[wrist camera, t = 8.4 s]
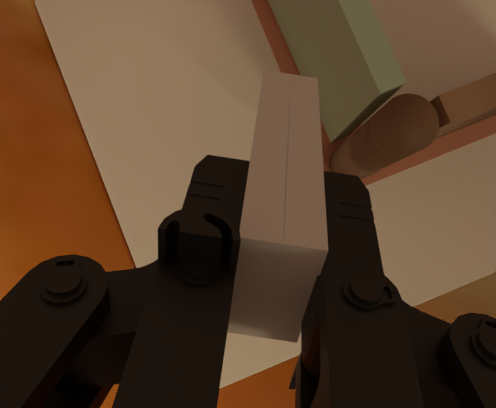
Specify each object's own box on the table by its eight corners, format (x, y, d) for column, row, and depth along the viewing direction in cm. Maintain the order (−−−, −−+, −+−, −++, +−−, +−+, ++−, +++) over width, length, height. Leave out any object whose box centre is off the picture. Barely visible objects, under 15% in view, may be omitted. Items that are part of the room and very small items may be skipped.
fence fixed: (533, 69, 24) (688, -19, 16) (548, 103, 24) (713, 32, 16) (322, 153, 24) (370, 106, 15) (337, 188, 24) (394, 161, 15)
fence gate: (353, 133, 23) (415, 78, 15) (325, 145, 23) (372, 96, 15) (278, -37, 24) (299, -174, 16) (249, -26, 24) (257, -158, 16)
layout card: (461, -150, 26) (465, -157, 25) (627, 213, 24) (635, 213, 24) (37, 4, 24) (33, 0, 24) (188, 398, 23) (187, 402, 23)
